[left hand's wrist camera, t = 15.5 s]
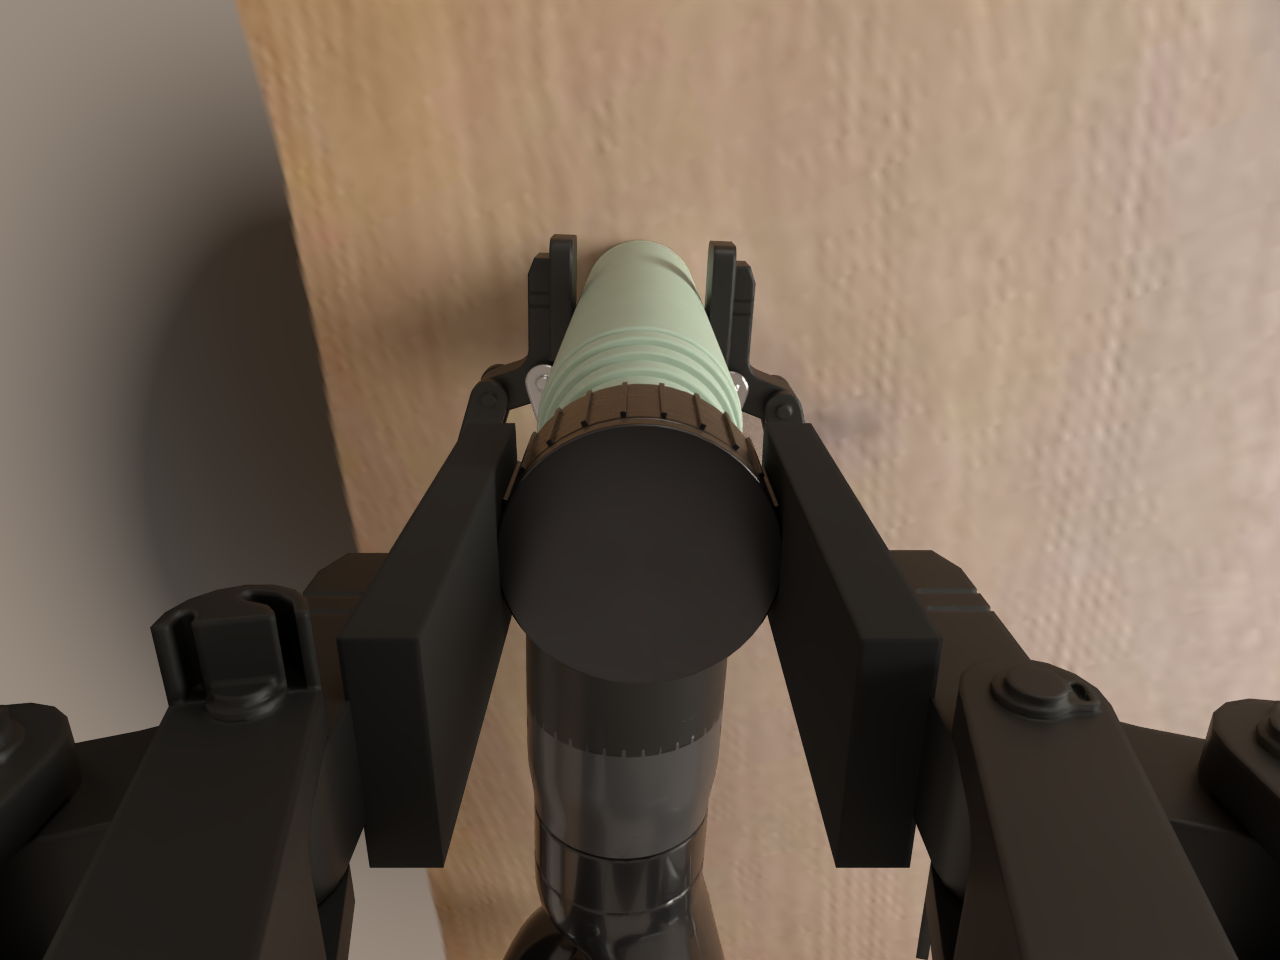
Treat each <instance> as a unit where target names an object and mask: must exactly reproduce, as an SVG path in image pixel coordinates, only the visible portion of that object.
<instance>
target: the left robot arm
mask: <svg viewBox="0 0 1280 960" xmlns="http://www.w3.org/2000/svg"><path fill="white" fill-rule="evenodd" d="M516 464H517V448H516V429H515V423H468V425H467V427H466V428H465V430H464V432H463V433H462V435H461V436H460V438H459V440H458V441H457V443H456V445H455V446H454V448H453V449H452V451H451V453H450V454H449V456H448V458H447V459H446V461H445V462H444V464H443V466H442V467H441V469H440V471H439V472H438V474H437V475H436V477H435V479H434V480H433V482H432V484H431V485H430V487H429V488H428V490H427V492H426V493H425V495H424V496H423V498H422V500H421V501H420V503H419V505H418V506H417V508H416V509H415V511H414V513H413V514H412V516H411V518H410V519H409V521H408V522H407V524H406V526H405V527H404V529H403V531H402V532H401V534H400V535H399V537H398V539H397V540H396V542H395V544H394V545H393V547H392V548H391V550H390V552H389V553H348V554H346V555H344V556H343V557H341V558H340V559H338V560H336V561H335V562H333V563H331V564H330V565H328V566H327V567H325V568H323V569H322V570H320V571H319V572H318V573H317V574H316V576H315V577H314V578H313V580H312V581H311V582H310V584H309V585H308V586H307V588H306V589H305V590H304V592H303V595H301V594H300V593H299V592H297V591H296V590H294V589H290V588H286V587H281V586H277V585H243V586H238V587H231V588H226V589H220V590H215V591H213V592H209V593H207V594H203V595H200V596H198V597H194V598H192V599H189V600H187V601H185V602H183V603H181V604H180V605H178V606H176V607H174V608H172V609H170V610H169V611H167V612H165V613H164V614H163V615H162V616H161V617H160V618H159V619H158V620H157V621H156V622H155V623H154V624H153V625H152V626H151V627H150V629H151V633H152V637H153V641H154V645H155V650H156V654H157V658H158V662H159V666H160V671H161V675H162V679H163V683H164V688H165V692H166V696H167V700H168V705H169V707H168V709H167V711H166V713H165V715H164V717H163V719H162V721H161V723H160V725H159V726H157V727H153V728H149V729H145V730H141V731H136V732H131V733H126V734H121V735H116V736H110V737H105V738H100V739H95V740H89V741H84V742H79V743H75V742H74V739H73V735H72V732H71V728H70V725H69V721H68V718H67V716H66V715H64V714H63V713H62V712H60V711H59V710H58V709H57V708H56V707H54V706H48V705H42V704H36V703H23V704H11V705H0V960H348V954H349V946H350V938H351V929H352V921H353V913H354V905H355V898H354V891H353V884H352V877H351V871H350V865H349V862H350V859H351V857H352V855H353V852H354V850H355V847H356V845H357V842H358V840H359V837H360V835H361V832H362V830H363V827H364V832H365V838H366V845H367V852H368V859H369V866H370V868H443V867H444V863H445V860H446V856H447V852H448V849H449V845H450V841H451V838H452V834H453V830H454V827H455V823H456V819H457V816H458V812H459V808H460V804H461V801H462V797H463V793H464V790H465V786H466V782H467V779H468V775H469V771H470V768H471V764H472V760H473V757H474V753H475V749H476V746H477V742H478V738H479V735H480V731H481V727H482V723H483V720H484V716H485V712H486V709H487V705H488V701H489V698H490V694H491V690H492V687H493V683H494V679H495V676H496V672H497V668H498V665H499V661H500V657H501V654H502V650H503V646H504V642H505V639H506V635H507V631H508V628H509V624H510V620H511V617H512V614H511V612H510V610H509V608H508V606H507V603H506V601H505V599H504V597H503V594H502V591H501V587H500V574H499V559H498V543H497V530H498V526H499V523H500V519H501V515H502V512H503V510H504V507H505V504H502V500H503V498H504V495H505V492H506V490H507V487H508V485H509V482H510V480H511V477H512V474H513V472H514V469H515V467H516ZM762 467H764V469H765V471H766V474H767V477H768V479H769V482H770V484H771V487H772V489H773V492H774V495H775V497H776V500H777V502H778V505H779V511H776V512H777V515H778V518H779V521H780V523H781V529H782V550H781V565H780V580H779V590H778V593H777V595H776V598H775V600H774V602H773V605H772V607H771V609H770V611H769V612H768V614H767V615H768V619H769V622H770V626H771V630H772V633H773V637H774V641H775V645H776V648H777V652H778V656H779V659H780V663H781V667H782V670H783V674H784V678H785V681H786V685H787V689H788V692H789V696H790V700H791V703H792V707H793V711H794V714H795V718H796V722H797V726H798V729H799V733H800V737H801V740H802V744H803V748H804V751H805V755H806V759H807V762H808V766H809V770H810V773H811V777H812V781H813V784H814V788H815V792H816V796H817V799H818V803H819V807H820V810H821V814H822V818H823V821H824V825H825V829H826V832H827V836H828V840H829V843H830V847H831V851H832V854H833V858H834V862H835V866H836V868H910V862H911V855H912V848H913V841H914V835H915V828H916V824H917V827H918V829H919V832H920V834H921V837H922V839H923V842H924V844H925V847H926V849H927V851H928V854H929V856H930V859H931V865H930V871H929V877H928V884H927V890H926V896H925V903H924V909H923V915H922V922H921V928H920V934H919V941H918V948H917V955H916V958H919V959H925V960H928V955H929V950H930V944H931V952H932V960H1280V701H1271V700H1259V699H1244V700H1238V701H1232V702H1226V703H1225V704H1223V705H1222V706H1221V707H1220V708H1218V709H1217V710H1216V711H1215V712H1213V715H1212V719H1211V722H1210V726H1209V729H1208V733H1207V736H1206V739H1201V738H1195V737H1190V736H1185V735H1180V734H1174V733H1169V732H1164V731H1159V730H1154V729H1148V728H1143V727H1139V726H1135V725H1131V724H1127V723H1123V722H1119V720H1118V718H1117V716H1116V714H1115V712H1114V710H1113V708H1112V706H1111V704H1110V703H1109V702H1108V701H1107V699H1106V698H1105V697H1104V696H1103V695H1102V693H1101V692H1100V691H1099V690H1098V689H1097V688H1096V687H1094V686H1093V685H1091V684H1090V683H1088V682H1087V681H1085V680H1084V679H1082V678H1081V677H1079V676H1078V675H1076V674H1074V673H1071V672H1069V671H1066V670H1064V669H1061V668H1059V667H1056V666H1054V665H1051V664H1049V663H1044V662H1039V661H1034V660H1030V659H1029V657H1028V656H1027V655H1026V653H1025V652H1024V651H1023V649H1022V648H1021V647H1020V645H1019V644H1018V643H1017V641H1016V640H1015V639H1014V637H1013V636H1012V635H1011V634H1010V632H1009V631H1008V630H1007V628H1006V627H1005V626H1004V624H1003V623H1002V622H1001V620H1000V619H999V618H998V616H997V615H996V614H995V612H994V611H990V606H989V605H988V603H987V602H986V601H985V599H984V598H983V597H982V595H981V594H980V593H977V589H976V587H975V586H974V585H973V584H972V582H971V581H970V580H969V578H968V577H967V576H966V574H965V573H964V572H963V570H962V569H961V568H960V567H958V566H956V565H955V564H953V563H951V562H950V561H948V560H947V559H945V558H943V557H942V556H940V555H938V554H937V553H935V552H934V551H932V550H889V549H888V548H887V546H886V545H885V543H884V541H883V540H882V538H881V536H880V535H879V533H878V532H877V530H876V528H875V527H874V525H873V523H872V522H871V520H870V519H869V517H868V515H867V514H866V512H865V510H864V509H863V507H862V506H861V504H860V502H859V501H858V499H857V497H856V496H855V494H854V493H853V491H852V489H851V488H850V486H849V484H848V483H847V481H846V480H845V478H844V476H843V475H842V473H841V472H840V470H839V468H838V467H837V465H836V463H835V462H834V460H833V459H832V457H831V455H830V454H829V452H828V450H827V449H826V447H825V446H824V444H823V442H822V441H821V439H820V437H819V436H818V434H817V433H816V431H815V429H814V428H813V426H812V424H811V423H764V437H763V455H762Z"/></svg>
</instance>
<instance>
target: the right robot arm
mask: <svg viewBox="0 0 1280 960" xmlns="http://www.w3.org/2000/svg"><path fill="white" fill-rule="evenodd" d="M576 278H577V238H576V235H561V234H554V235H553V236H552V237H551V239H550V248H549V253H538V255H537V256H536V257H535V258H534V260H533V263H532V265H531V268H530V270H529V273H528V329H529V351H528V355H527V356H526V357H525V358H523V359H521V360H519V361H516V362H513V363H510V364H506V365H503V364H495V365H492V366H490V367H489V368H488V369H487V370H486V371H485V372H484V374H483V376H482V378H481V381H480V382H478V383H477V384H476V386H475V387H474V388H473V390H472V392H471V394H470V398H469V402H468V405H467V409H466V412H465V416H464V420H463V423H462V427H461V430H460V434H459V437H458V440H459V438H460V436H461V435H462V433H463V432H464V430H465V428H466V427H467V425H468V423H506V421H507V418H508V414H509V411H510V410H511V409H515V408H518V407H521V406H524V405H527V404H530V403H531V404H532V408H533V411H534V414H535V417H536V420H537V415H538V408H539V402H540V399H541V396H542V392H543V389H544V387H545V384H546V382H547V379H548V377H549V374H550V372H551V369H552V367H553V364H554V362H555V359H556V357H557V354H558V352H559V349H560V347H561V344H562V342H563V339H564V336H565V334H566V331H567V329H568V326H569V324H570V321H571V319H572V316H573V314H574V311H575V309H576ZM754 295H755V280H754V277H753V274H752V270H751V267H750V266H749V265H748V264H747V263H746V261H736V246H735V245H734V244H733V243H732V242H726V241H710V243H709V250H708V264H707V280H706V295H705V312H706V315H707V317H708V320H709V322H710V325H711V327H712V330H713V332H714V335H715V337H716V340H717V342H718V345H719V347H720V350H721V352H722V355H723V357H724V360H725V362H726V365H727V368H728V370H729V373H730V375H731V378H732V380H733V383H734V385H735V388H736V390H737V394H738V397H739V400H740V405H741V411H743V412H745V413H748V414H750V415H753V416H755V417H758V418H760V419H761V422H762V427H763V431H764V423H805V420H804V415H803V410H802V406H801V403H800V401H799V400H798V398H797V397H796V395H795V393H794V392H793V390H792V389H791V387H790V385H789V384H788V382H787V381H786V380H785V379H784V378H782V377H781V376H777V375H769V374H766V373H764V372H761V371H759V370H757V369H755V368H753V367H752V366H751V365H750V363H749V353H750V342H751V330H752V318H753V307H754ZM726 667H727V658H726V659H724V660H722V661H720V662H719V663H717V664H715V665H714V666H712V667H710V668H708V669H705V670H703V671H701V672H699V673H696V674H694V675H690V676H687V677H684V678H681V679H677V680H672V681H667V682H661V683H649V684H630V683H620V682H613V681H607V680H603V679H599V678H595V677H592V676H589V675H586V674H584V673H581V672H578V671H576V670H574V669H572V668H570V667H568V666H566V665H564V664H562V663H560V662H559V661H557V660H556V659H554V658H553V657H551V656H550V655H549V654H547V653H546V652H544V651H543V650H542V649H541V648H540V647H539V646H538V645H536V644H535V643H534V642H533V641H532V640H531V639H530V638H529V636H528V635H527V634H526V677H527V745H528V761H529V767H530V773H531V778H532V783H533V789H534V817H535V874H536V883H537V889H538V893H539V897H540V900H541V903H542V906H541V907H540V908H538V909H537V910H536V911H535V912H534V913H533V914H531V916H530V917H529V918H528V919H527V920H526V921H525V923H524V924H523V925H522V927H521V928H520V930H519V931H518V933H517V935H516V936H515V938H514V940H513V941H512V943H511V945H510V947H509V949H508V951H507V952H506V954H505V956H504V958H503V960H725V959H724V955H723V951H722V947H721V943H720V939H719V935H718V931H717V927H716V923H715V919H714V916H713V911H712V907H711V902H710V898H709V894H708V891H707V887H706V884H705V881H704V878H703V873H702V869H703V859H704V849H705V837H706V825H707V813H708V802H709V796H710V792H711V788H712V784H713V780H714V777H715V773H716V768H717V763H718V755H719V746H720V735H721V723H722V712H723V701H724V689H725V678H726Z"/></svg>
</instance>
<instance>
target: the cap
mask: <svg viewBox="0 0 1280 960" xmlns="http://www.w3.org/2000/svg"><path fill="white" fill-rule="evenodd" d="M502 504H505V507H504V510H503V512H502V515H501V519H500V523H499V526H498V530H497V543H498V559H499V574H500V587H501V591H502V594H503V597H504V599H505V601H506V603H507V606H508V608H509V610H510V612H511V614H512V615H513V617H514V618H515V620H516V621H517V623H518V624H519V626H520V627H521V628H522V630H523V631H524V632H525V633H526V634H527V635H528V636H529V638H530V639H531V640H532V641H533V642H534V643H535V644H536V645H538V646H539V647H540V648H541V649H542V650H543V651H544V652H546V653H547V654H549V655H550V656H551V657H553V658H554V659H556V660H557V661H559V662H560V663H562V664H564V665H566V666H568V667H570V668H572V669H574V670H576V671H578V672H581V673H584V674H586V675H589V676H592V677H595V678H599V679H603V680H607V681H613V682H620V683H630V684H649V683H661V682H667V681H672V680H677V679H681V678H684V677H687V676H690V675H694V674H696V673H699V672H701V671H703V670H705V669H708V668H710V667H712V666H714V665H715V664H717V663H719V662H720V661H722V660H724V659H726V658H727V657H728V656H730V655H731V654H732V653H733V652H735V651H736V650H737V649H739V648H740V647H741V646H742V645H743V644H744V643H745V642H746V641H747V640H748V639H749V638H750V637H751V636H752V635H753V634H754V633H755V631H756V630H757V629H758V627H759V626H760V625H761V624H762V622H763V621H764V619H765V617H766V616H767V614H768V612H769V611H770V609H771V607H772V605H773V602H774V600H775V598H776V595H777V593H778V590H779V580H780V565H781V550H782V529H781V523H780V521H779V518H778V515H777V512H776V511H779V505H778V502H777V500H776V497H775V495H774V492H773V489H772V487H771V484H770V482H769V479H768V477H767V474H766V471H765V469H764V467H761V464H760V461H759V459H758V456H757V454H756V451H755V448H754V446H753V443H752V441H751V439H750V437H748V438H745V437H744V435H743V434H742V432H741V431H740V430H739V428H738V427H737V426H736V425H735V424H734V423H733V422H732V421H731V419H730V416H729V414H728V413H727V412H726V411H725V412H724V413H722V412H721V411H720V410H718V409H717V408H716V407H714V406H713V405H711V404H709V403H708V402H706V401H705V400H703V399H701V398H700V396H699V394H697V393H694V395H692V394H690V393H688V392H685V391H682V390H678V389H675V388H672V387H667V386H665V384H664V383H659V385H655V384H628V382H622V385H618V386H613V387H608V388H604V389H601V390H598V391H595V392H592V390H589V391H587V393H586V395H585V396H583V397H581V398H579V399H577V400H575V401H573V402H571V403H570V404H568V405H567V406H565V407H564V408H563V409H561V408H560V407H559V408H557V409H556V410H555V414H554V416H553V417H552V418H551V419H549V420H548V421H547V422H546V423H545V424H544V426H543V427H542V428H541V429H540V430H539V432H538V433H536V432H533V434H532V435H531V438H530V441H529V443H528V446H527V449H526V451H525V454H524V457H523V459H522V462H520V461H517V464H516V467H515V469H514V472H513V474H512V477H511V480H510V482H509V485H508V487H507V490H506V492H505V495H504V498H503V500H502Z"/></svg>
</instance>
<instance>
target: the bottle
mask: <svg viewBox="0 0 1280 960" xmlns="http://www.w3.org/2000/svg"><path fill="white" fill-rule="evenodd" d="M622 382H628V384H655V385H659V383H664V384H665V386H667V387H672V388H675V389H678V390H682V391H685V392H688V393H690V394H692V395H694V393H697V394H699V396H700V398H701V399H703V400H705V401H706V402H708V403H709V404H711V405H713V406H714V407H716V408H717V409H718V410H720V411H721V412H722V413H724V412H725V411H726V412H727V413H728V414H729V416H730V419H731V421H732V422H733V423H734V424H735V425H736V426H737V427H738V428H739V430H740V431H741V432H742V411H741V405H740V400H739V397H738V394H737V390H736V388H735V385H734V383H733V380H732V378H731V375H730V373H729V370H728V368H727V365H726V362H725V360H724V357H723V355H722V352H721V350H720V347H719V345H718V342H717V340H716V337H715V335H714V332H713V330H712V327H711V325H710V322H709V320H708V317H707V315H706V312H705V309H704V307H703V304H702V302H701V299H700V297H699V294H698V292H697V289H696V287H695V284H694V282H693V279H692V277H691V274H690V272H689V270H688V268H687V266H686V265H685V263H684V262H683V261H682V260H681V258H680V257H679V256H678V255H677V254H676V253H674V252H673V251H672V250H670V249H669V248H667V247H665V246H663V245H661V244H659V243H656V242H652V241H646V240H634V241H628V242H624V243H621V244H618V245H616V246H614V247H613V248H611V249H609V250H608V251H607V252H605V253H604V254H603V255H602V256H601V257H600V258H599V259H598V260H597V262H596V263H595V265H594V266H593V268H592V269H591V272H590V274H589V276H588V279H587V281H586V284H585V286H584V289H583V291H582V294H581V296H580V299H579V301H578V304H577V306H576V309H575V311H574V314H573V316H572V319H571V321H570V324H569V326H568V329H567V331H566V334H565V336H564V339H563V342H562V344H561V347H560V349H559V352H558V354H557V357H556V359H555V362H554V364H553V367H552V369H551V372H550V374H549V377H548V379H547V382H546V384H545V387H544V389H543V392H542V396H541V399H540V402H539V408H538V415H537V433H538V432H539V430H540V429H541V428H542V427H543V426H544V424H545V423H546V422H547V421H548V420H549V419H551V418H552V417H553V416H554V414H555V410H556V409H557V408H559V407H560V408H561V409H563V408H564V407H565V406H567V405H568V404H570V403H571V402H573V401H575V400H577V399H579V398H581V397H583V396H585V395H586V393H587V391H589V390H592V392H595V391H598V390H601V389H604V388H608V387H613V386H618V385H622Z"/></svg>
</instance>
